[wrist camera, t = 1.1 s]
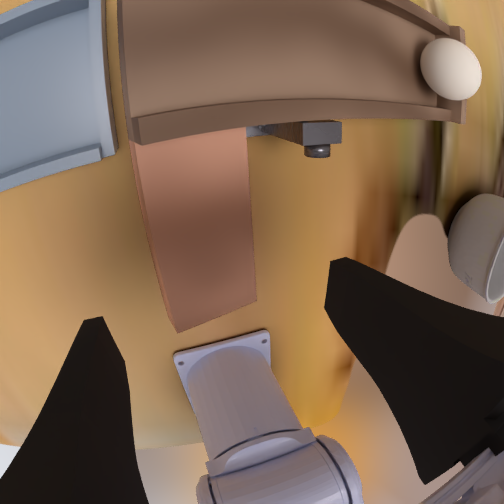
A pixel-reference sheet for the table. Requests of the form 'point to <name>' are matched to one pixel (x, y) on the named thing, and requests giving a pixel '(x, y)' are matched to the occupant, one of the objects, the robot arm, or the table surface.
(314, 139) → the lever stand
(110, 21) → the table surface
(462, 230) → the teacup
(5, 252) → the table surface
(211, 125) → the lever
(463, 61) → the ball
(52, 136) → the bin
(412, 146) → the table surface
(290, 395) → the table surface
